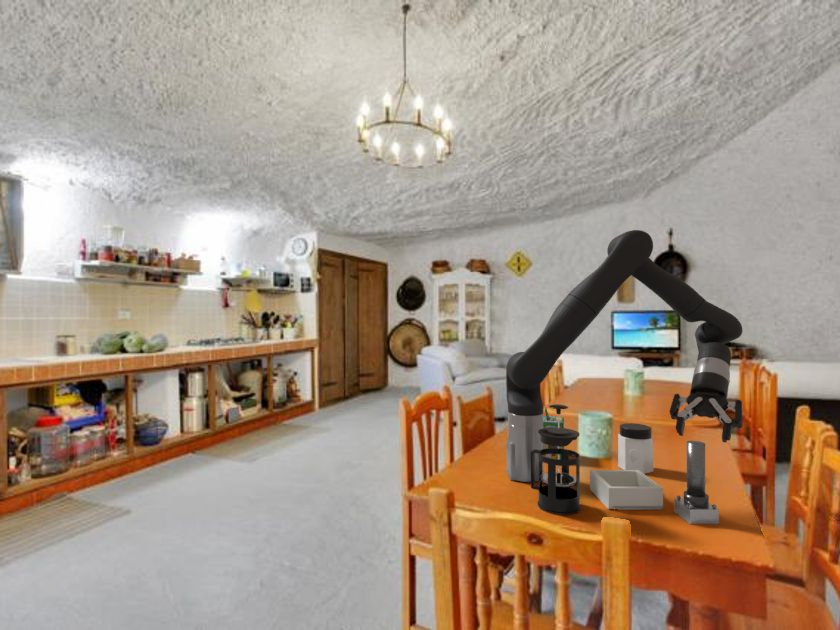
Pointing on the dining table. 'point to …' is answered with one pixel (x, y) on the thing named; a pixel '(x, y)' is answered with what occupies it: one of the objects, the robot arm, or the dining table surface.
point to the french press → (558, 489)
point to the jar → (635, 448)
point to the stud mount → (696, 512)
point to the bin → (626, 490)
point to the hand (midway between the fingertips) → (701, 437)
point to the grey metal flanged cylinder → (696, 475)
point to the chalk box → (552, 423)
